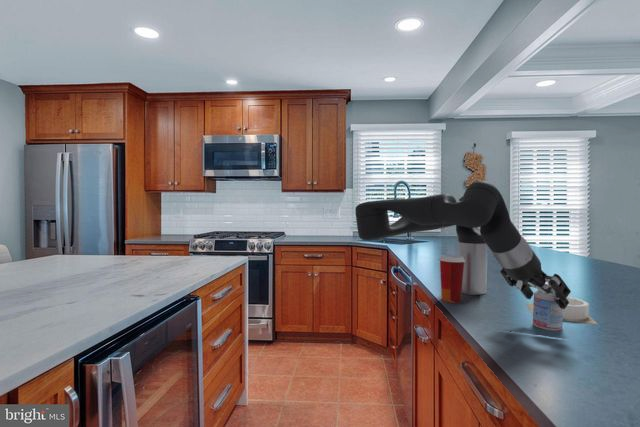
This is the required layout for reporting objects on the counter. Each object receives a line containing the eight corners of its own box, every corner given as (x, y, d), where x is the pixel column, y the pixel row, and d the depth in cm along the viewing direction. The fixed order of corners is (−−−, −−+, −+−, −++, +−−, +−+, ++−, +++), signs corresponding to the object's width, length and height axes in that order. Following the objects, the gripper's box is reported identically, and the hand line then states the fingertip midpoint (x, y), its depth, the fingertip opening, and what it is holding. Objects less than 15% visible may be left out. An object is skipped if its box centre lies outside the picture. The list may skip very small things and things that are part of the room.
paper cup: (464, 299, 111) (465, 255, 111) (463, 305, 104) (464, 258, 104) (439, 296, 114) (439, 253, 114) (436, 301, 107) (437, 256, 107)
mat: (533, 318, 93) (533, 316, 93) (525, 304, 106) (525, 302, 105) (597, 326, 87) (597, 324, 87) (581, 310, 100) (581, 308, 100)
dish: (543, 316, 93) (543, 303, 93) (535, 305, 103) (536, 293, 103) (593, 322, 89) (594, 308, 89) (580, 310, 99) (581, 297, 99)
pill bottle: (527, 323, 88) (528, 279, 88) (549, 323, 89) (551, 279, 88) (544, 332, 82) (545, 285, 82) (568, 332, 83) (570, 285, 82)
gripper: (480, 262, 86) (512, 304, 90) (535, 273, 72) (569, 322, 77) (497, 240, 88) (528, 283, 92) (553, 247, 74) (586, 297, 79)
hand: (547, 301), depth 84 cm, fingers open, 8 cm apart
